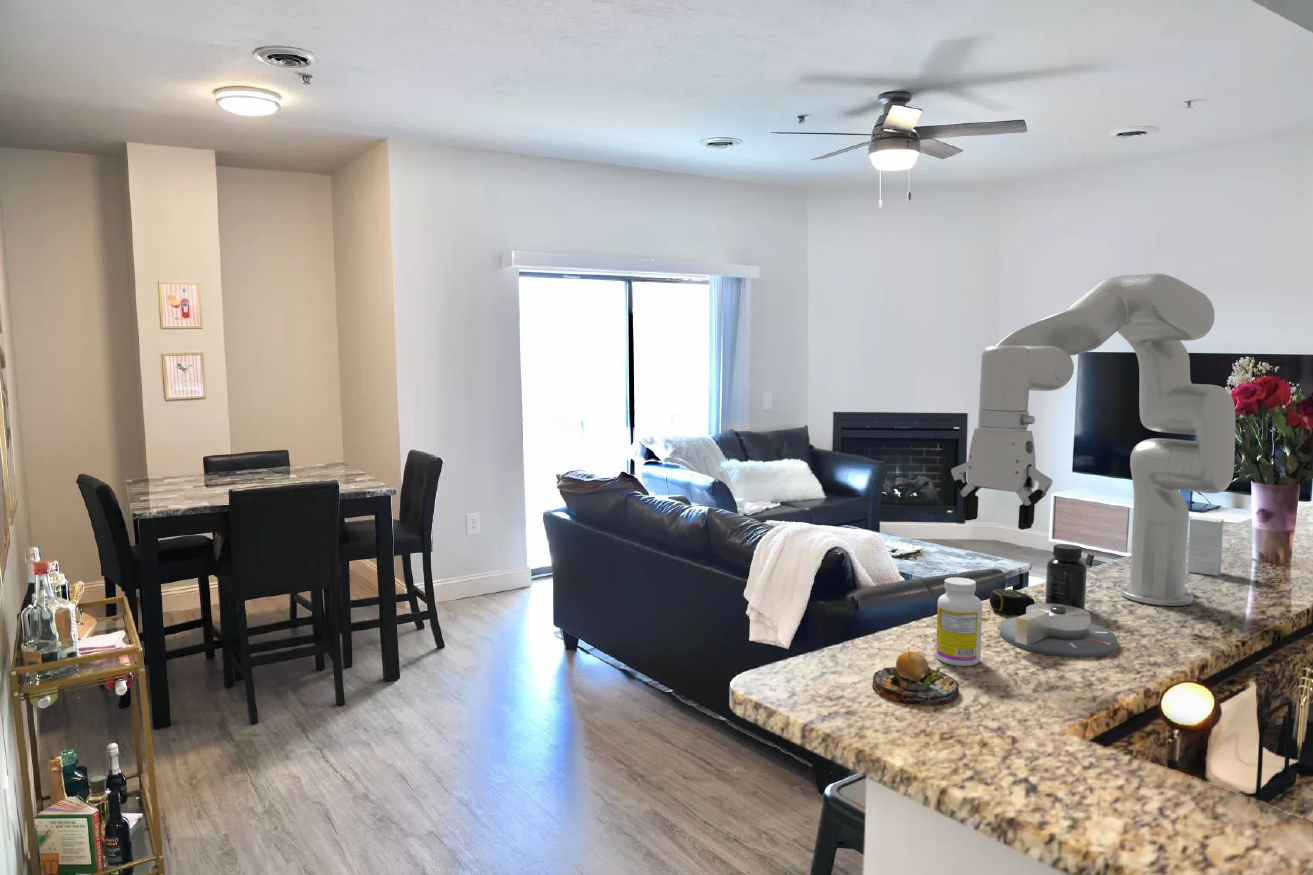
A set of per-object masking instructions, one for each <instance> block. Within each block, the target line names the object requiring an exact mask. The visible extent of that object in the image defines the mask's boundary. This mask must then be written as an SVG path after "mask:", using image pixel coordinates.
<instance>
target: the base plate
mask: <svg viewBox="0 0 1313 875" xmlns="http://www.w3.org/2000/svg"><path fill="white" fill-rule="evenodd" d="M1016 617H1017V616H1014V617H1011V618H1007V619H1005V620H1002V622H1001V623H1000V625H999V626H1000V627H999V628H1000V629H999V635H1000V637H1001V639H1002V640H1004V641H1005V642H1007V643H1009V644H1011V645H1013V646H1015V647H1018V648H1020V649H1023V650H1025V651H1030V652H1035V653H1037V654H1043V655H1048V656H1056V657H1064V658H1076V659H1077V658H1082V659H1083V658H1085V659H1086V658H1099V657H1104V656H1107V655H1108V656H1109V655H1110V654H1113V653H1114V652H1116V650H1117V640H1118V638H1117V636H1116V634H1114V633H1113V631H1111V630H1108V629H1106V628H1105V627H1102V626H1100V625H1097V624H1093V623H1091V625H1090V635H1089V636H1087V637H1083V638H1075V639H1066V638H1055V637H1049V636H1047V637H1045V638H1042V639H1040V640H1037V641H1035V642H1032V643H1030V644H1028V645H1026V644H1022V643H1018V642H1015V629H1016Z"/></svg>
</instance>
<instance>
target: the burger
mask: <svg viewBox="0 0 1313 875" xmlns="http://www.w3.org/2000/svg"><path fill="white" fill-rule="evenodd" d="M907 647H908V648H907V650H908V651H906V652H903V653H901V654H900V655H899V656H898V658H897V659H896V663H895V664H896V665H895V667H894V666H893V667H891V666H890V667H883V668H882V669H881V670H877V671H876V672H874V674H873V676H872V690H875V691H877V692H879V695H880V697H881V696H882V697H883V698H884V699H888V700H889V699H891V700H893V702H895V703H899V704H902V705H908V706H916V707H917V706H919V707H937V706H945V705H947V704H948V705H949V704H951V703H954V702H955V701H956V700H957V699H958V698H959V691H960V690H959V686H960V685H959V683H958V681H957V680H956V679H954V678H953V677H952V676H950V675H949V674H946V673H944V672H941V671H940V668H937V669H936V670H935V669H931V667H930V666H929V662H928V660H927V659H926V657H925V656H923V655H922V654H920V653H919V652H915V651H910V649H909V648H910V647H909V646H907ZM882 697H881V698H882Z"/></svg>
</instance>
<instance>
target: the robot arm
mask: <svg viewBox="0 0 1313 875" xmlns="http://www.w3.org/2000/svg"><path fill="white" fill-rule="evenodd" d="M1214 323H1215V307H1214V305H1213V303H1212V301H1211V300H1210V298H1209V297H1208V296H1207V295H1206V294H1205V293H1203V292H1202V291H1200V290H1198V289H1196V288H1195V287H1193V286H1191V285H1190V284H1188V283H1186V282H1185V281H1183V280H1180V279H1178V278H1176V277H1174V276H1171V275H1168V274H1164V273H1145V274H1144V273H1143V274H1131V275H1130V274H1128V275H1127V274H1125V275H1116V276H1112V277H1109V278H1105V279H1104V280H1102V281H1101V282H1099V283H1098V284H1097V285H1096V286H1094V287H1093V288H1091V289H1090V290H1089V291H1088V292H1087V293H1085V294H1084V295H1083V296H1081V297H1080V298H1079V299H1078V300H1076V301H1075V303H1073V304H1072V305H1071V306H1069V307H1068V308H1067V309H1065V310H1063V311H1060V312H1057V313H1053V314H1051V315H1049V316H1047V317H1044V318H1042V319H1040V320H1037V321H1035V322H1032V323H1030V324H1028V325H1025V326H1022V327H1020V328H1019V329H1016V330H1015V331H1013V332H1011V333H1010V334H1008V335H1007V336H1006V337H1004V338H1003V339H1002V340H1000V341H999V343H997V344H996V345H991V346H987V347H985V349H984V350H983V351H982V354H981V360H980V362H981V363H980V364H981V365H980V382H979V383H980V384H979V385H980V386H979V402H978V404H979V406H978V425H977V427H975V428H974V430H973V434H972V437H971V442H970V445H969V453H968V458H967V461H966V462H964V463H962V464H960V465H957V466H955V467H952V468H951V470H950V473H951V476H952V479H953V481H955V482H954V484H955V486H956V487H957V489H958V490H959V491H960V495H961V496H962V497H963V506H962V508H963V509H962V510H963V511H962V513H963V520H964V521H967V522H968V521H973V520H976V519H978V518H979V516H978V515H979V514H978V511H979V496H978V495H976V494H977V493H978V492H979V491H980V490H981V489H987V490H996V491H1002V492H1011V493H1013V492H1014V493H1015V494H1016V495H1017V497H1018V498H1019V499H1020V501H1021V502H1022V504H1020V505H1019V506H1018V507H1019V508H1018V526H1017V528H1018V529H1019V530H1027V529H1032V527H1033V524H1034V521H1035V508H1036V505H1037V504H1038V503H1039V502H1040V501H1041V500H1042V499H1043V498H1045V496H1046V495H1047V492H1048V491H1049V490H1050V488H1051V486H1052V485H1053V484H1054V483H1053V482H1054V481H1053V479H1052V478H1050V477H1049V476H1047V475H1046V474H1044V473H1043V472H1041V471H1040V470H1038V469H1037V468H1036V465H1037V464H1036V451H1035V450H1036V448H1035V440H1034V435H1033V431H1032V430H1028V428H1029V425H1034V424H1035V423H1036V417H1035V416H1034V415H1033V416H1032V415H1030V413H1029V412H1030V411H1028V410H1029V399H1030V398H1029V396H1030V391H1035V392H1037V391H1038V392H1051V391H1056V390H1059V389H1062V388H1063V387H1065V386H1066V385H1067V384H1068V383H1069V382H1070V381H1071V379H1072V377H1073V375H1074V369H1075V368H1074V366H1075V364H1074V362H1073V358H1072V356H1078V355H1080V354H1084V353H1088V352H1092V351H1094V350H1095V349H1097V348H1099V347H1101V346H1102V345H1103V344H1104V343H1105V342H1106V341H1108V340H1109V339H1110V338H1111V337H1112V336H1113V335H1114V334H1115V333H1118V334H1119V335H1120V336H1122V338H1123V339H1124V340H1125V341H1127V343H1128V344H1129V345H1130V347H1132V349H1133V351H1134V352H1135V354H1136V357H1137V361H1138V369H1139V370H1138V372H1139V381H1138V382H1139V390H1138V391H1139V393H1138V394H1139V395H1138V396H1139V399H1138V401H1139V402H1138V404H1139V405H1138V406H1139V419H1140V423H1141V425H1143V427H1144V428H1146V429H1148V430H1150V431H1153V432H1159V433H1166V434H1167V433H1168V434H1169V433H1170V434H1181V435H1193V436H1196V439H1197V440H1196V441H1193V440H1186V439H1176V438H1159V437H1158V438H1154V437H1153V438H1149V439H1148V438H1147V439H1145V440H1142V441H1139V443H1137V444H1136V445H1135V446H1134V447H1133V449H1132V451H1131V453H1130V458H1129V459H1130V461H1129V466H1130V472H1131V480H1132V486H1133V514H1132V516H1133V517H1132V530H1131V531H1132V532H1131V533H1132V535H1131V550H1130V551H1131V552H1130V553H1131V554H1130V569H1129V573H1130V574H1129V584H1126V585H1125V584H1124V585H1123V586H1121V588H1120V595H1121V597H1124V598H1126V599H1129V600H1131V601H1135V602H1138V603H1143V604H1148V605H1153V606H1154V605H1156V606H1164V607H1166V606H1167V607H1181V606H1182V607H1183V606H1188V605H1191V604H1192V603H1194V595H1193V594H1192V593H1190V592H1188V591H1186V590H1185V588H1186V586H1185V585H1186V582H1187V581H1188V575H1187V574H1186V571H1187V570H1186V568H1187V556H1188V554H1187V553H1188V552H1187V550H1188V539H1189V524H1190V513H1189V508H1188V504H1187V502H1186V501H1185V499H1184V497H1183V495H1182V494H1181V492H1180V491H1187V492H1193V493H1194V492H1195V493H1203V494H1218V493H1222V492H1224V491H1225V490H1227V489H1228V488H1229V486H1230V484H1231V483H1232V480H1233V476H1234V472H1235V458H1236V457H1235V454H1236V452H1235V451H1236V450H1235V449H1236V446H1235V445H1236V409H1235V408H1236V407H1235V406H1236V405H1235V402H1234V398H1233V397H1232V395H1231V393H1230V392H1229V391H1228V390H1227V389H1225V387H1222V386H1219V385H1215V384H1207V383H1206V384H1204V383H1203V384H1202V383H1201V384H1199V383H1192V381H1191V367H1190V365H1191V361H1190V354H1189V353H1188V350H1187V348H1186V347H1185V345H1184V344H1183V341H1187V342H1188V341H1196V340H1200V339H1202V338H1204V337H1205V336H1207V334H1209V332H1210V331H1211V329H1212V328H1213V326H1214ZM965 472H966V479H965V478H964V473H965ZM1036 482H1037V483H1038V486H1037V489H1036V490H1034V491H1033V489H1034V488H1035V486H1036Z"/></svg>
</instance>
